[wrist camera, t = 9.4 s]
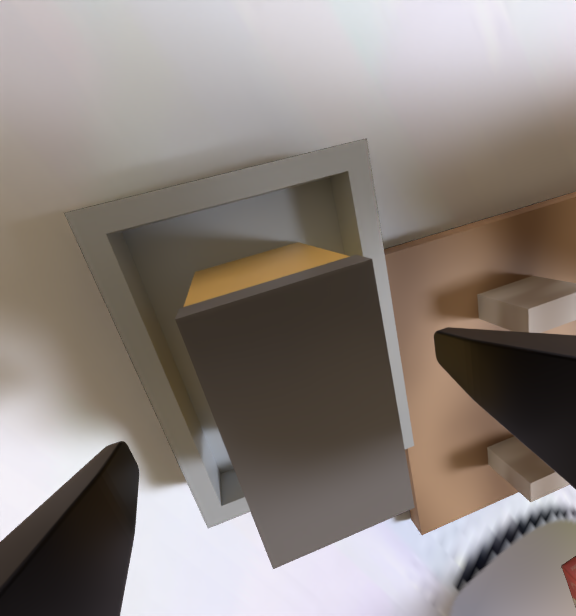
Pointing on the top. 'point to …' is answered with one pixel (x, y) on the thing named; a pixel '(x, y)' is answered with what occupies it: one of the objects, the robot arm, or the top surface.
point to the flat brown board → (477, 315)
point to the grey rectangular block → (300, 393)
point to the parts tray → (215, 251)
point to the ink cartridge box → (571, 576)
